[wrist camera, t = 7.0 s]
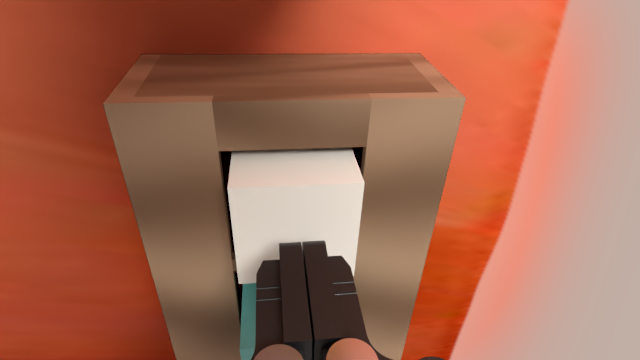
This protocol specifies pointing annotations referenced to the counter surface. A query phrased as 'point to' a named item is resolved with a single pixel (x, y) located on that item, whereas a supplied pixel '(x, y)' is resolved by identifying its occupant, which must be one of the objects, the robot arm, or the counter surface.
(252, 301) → the teal key
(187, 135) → the frame
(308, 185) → the ivory key
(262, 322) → the robot arm
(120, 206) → the counter surface
